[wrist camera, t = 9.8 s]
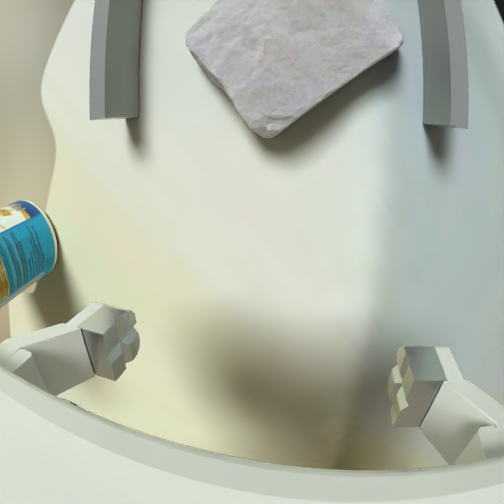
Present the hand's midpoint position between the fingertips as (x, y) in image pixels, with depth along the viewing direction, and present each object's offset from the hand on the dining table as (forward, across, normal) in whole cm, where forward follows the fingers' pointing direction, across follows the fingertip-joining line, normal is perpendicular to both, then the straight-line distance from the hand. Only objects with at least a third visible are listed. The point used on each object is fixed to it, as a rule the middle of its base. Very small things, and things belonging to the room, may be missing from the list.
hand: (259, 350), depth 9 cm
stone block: (+14, +1, -13) cm, 19 cm away
